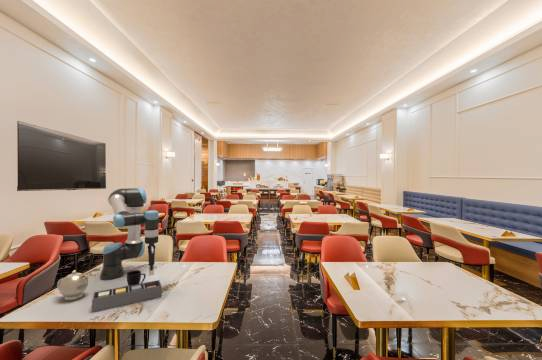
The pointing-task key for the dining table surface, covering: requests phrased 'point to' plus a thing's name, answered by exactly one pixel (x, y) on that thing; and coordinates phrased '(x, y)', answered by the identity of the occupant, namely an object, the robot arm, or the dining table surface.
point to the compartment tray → (126, 296)
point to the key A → (103, 294)
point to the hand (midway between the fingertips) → (151, 274)
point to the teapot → (73, 286)
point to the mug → (134, 277)
